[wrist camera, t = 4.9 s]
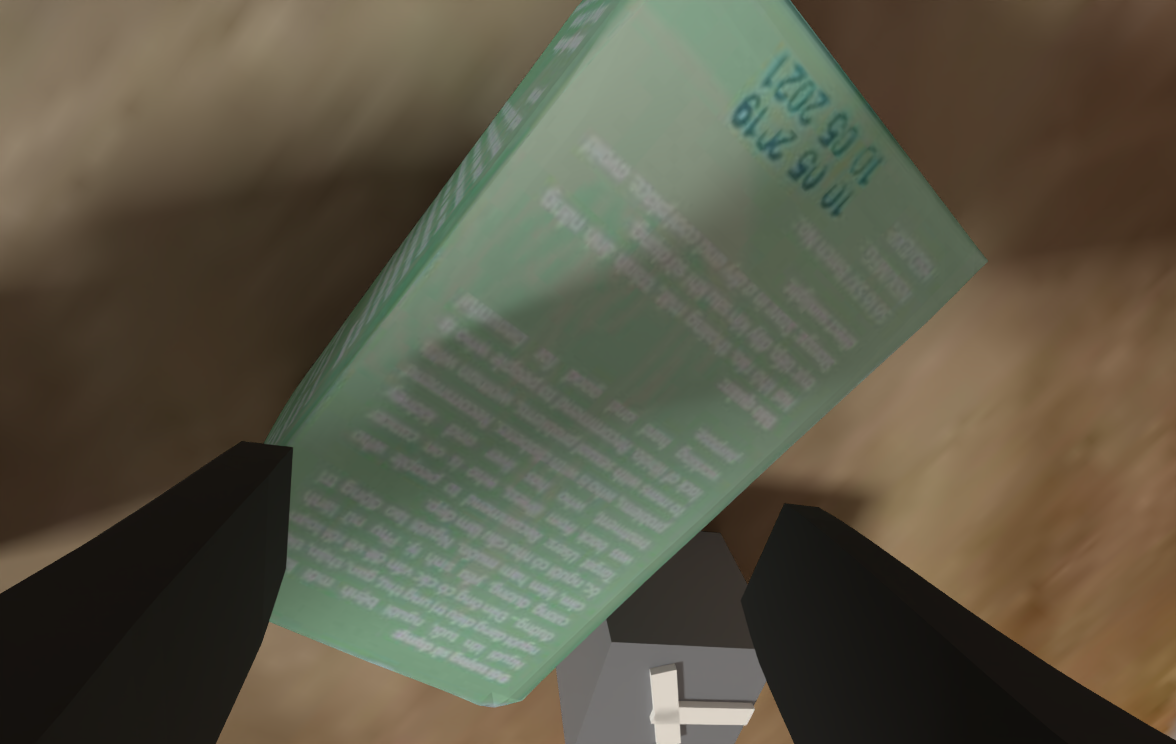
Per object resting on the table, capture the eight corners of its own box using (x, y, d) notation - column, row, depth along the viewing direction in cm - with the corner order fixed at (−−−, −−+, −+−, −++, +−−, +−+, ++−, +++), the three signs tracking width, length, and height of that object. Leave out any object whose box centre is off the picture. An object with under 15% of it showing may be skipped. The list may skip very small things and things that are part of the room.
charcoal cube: (551, 627, 22) (568, 772, 17) (583, 517, 20) (612, 648, 16) (677, 634, 23) (725, 771, 19) (719, 531, 21) (785, 656, 17)
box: (281, 401, 17) (153, 614, 10) (598, -31, 14) (715, -136, 7) (496, 517, 20) (506, 741, 13) (798, 184, 16) (1015, 255, 10)
